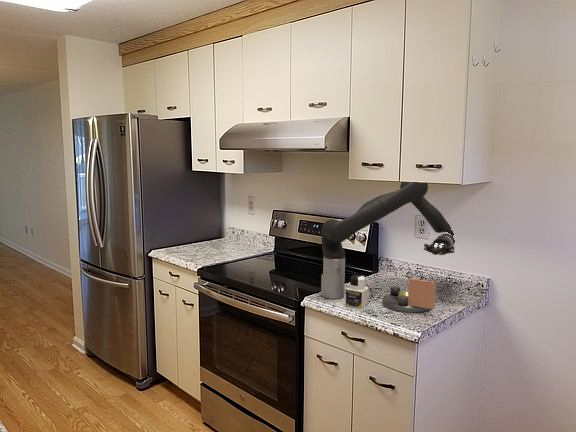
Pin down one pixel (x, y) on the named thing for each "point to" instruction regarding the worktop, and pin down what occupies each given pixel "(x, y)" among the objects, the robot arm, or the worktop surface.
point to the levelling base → (392, 302)
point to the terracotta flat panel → (419, 294)
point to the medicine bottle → (357, 292)
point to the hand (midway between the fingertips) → (434, 252)
